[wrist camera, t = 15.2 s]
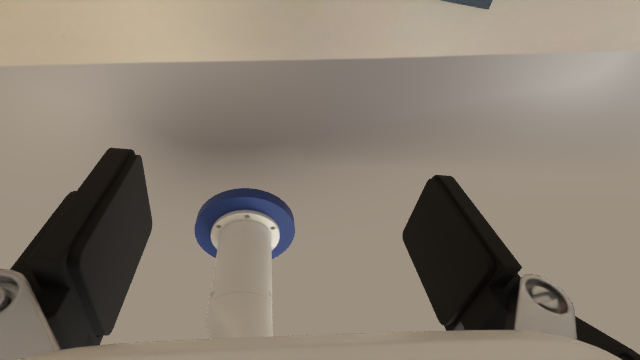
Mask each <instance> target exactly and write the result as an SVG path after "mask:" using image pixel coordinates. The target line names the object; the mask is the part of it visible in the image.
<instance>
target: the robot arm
mask: <svg viewBox="0 0 640 360" xmlns="http://www.w3.org/2000/svg"><path fill="white" fill-rule="evenodd" d="M151 229H152V217H151V211H150V205H149V199H148V193H147V187H146V181H145V175H144V169H143V163H142V158H141V156H140V155H135V153H134V151H133V150H131V149H119V148H109V149H108V150H107V151H106V153H105V154H104V155H103V157H102V158H101V159H100V161H99V162H98V163H97V165H96V166H95V167H94V169H93V170H92V172H91V173H90V174H89V175H88V177H87V178H86V180H85V181H84V182H83V184H82V185H81V186H80V188H79V189H78V190H77V191H73V192H71V193H69V194H68V195H67V196H66V197H65V199H64V200H63V201H62V203H61V204H60V205H59V207H58V208H57V209H56V210H55V212H54V213H53V214H52V216H51V217H50V218H49V220H48V221H47V222H46V224H45V225H44V226H43V227H42V229H41V230H40V231H39V233H38V234H37V235H36V236H35V238H34V239H33V240H32V242H31V243H30V244H29V246H28V247H27V248H26V250H25V251H24V252H23V253H22V255H21V256H20V257H19V259H18V260H17V261H16V262H15V264H14V265H13V266H12V268H11V269H10V270H7V269H6V270H5V269H0V360H640V355H639V354H637V353H636V352H635V351H633V350H632V349H630V348H628V347H627V346H625V345H623V344H621V343H620V342H618V341H616V340H615V339H613V338H611V337H610V336H608V335H606V334H605V333H603V332H601V331H599V330H598V329H596V328H594V327H593V326H591V325H589V324H587V323H586V322H584V321H582V320H581V319H579V318H577V317H576V316H575V311H574V307H573V303H572V302H571V301H570V299H569V297H568V296H567V295H566V294H565V293H564V292H563V290H562V289H560V288H559V287H558V286H557V285H555V284H554V283H552V282H551V281H549V280H548V279H546V278H543V277H541V276H538V275H533V274H527V275H524V276H523V277H520V276H519V275H518V272H519V271H520V269H521V268H522V267H521V265H520V264H519V263H518V261H517V260H516V259H515V258H514V256H513V255H512V254H511V252H510V251H509V250H508V248H507V247H506V246H505V244H504V243H503V242H502V241H501V239H500V238H499V237H498V235H497V234H496V233H495V231H494V230H493V229H492V228H491V226H490V225H489V224H488V222H487V221H486V220H485V218H484V217H483V216H482V214H481V213H480V212H479V210H478V209H477V208H476V207H475V205H474V204H473V203H472V201H471V200H470V199H469V197H468V196H467V195H466V193H465V192H464V191H463V189H462V188H461V187H460V186H459V184H458V183H457V182H456V180H455V179H454V178H453V177H451V176H443V175H435V176H434V177H432V179H429V180H428V181H427V183H426V185H425V187H424V189H423V191H422V194H421V195H420V197H419V200H418V202H417V204H416V206H415V208H414V210H413V212H412V214H411V216H410V218H409V221H408V223H407V224H406V227H405V229H404V231H403V241H404V243H405V246H406V248H407V250H408V253H409V255H410V257H411V259H412V262H413V264H414V266H415V268H416V271H417V273H418V275H419V277H420V279H421V282H422V284H423V286H424V288H425V291H426V293H427V295H428V297H429V300H430V302H431V304H432V307H433V309H434V311H435V314H436V316H437V318H438V320H439V322H440V323H441V324H442V325H444V326H445V328H446V331H424V332H390V333H389V332H388V333H360V334H330V335H329V334H328V335H300V336H273V323H272V250H273V249H274V248H275V247H276V246H277V244H278V242H279V239H280V231H279V227H278V225H277V223H276V222H275V221H274V220H273V219H272V218H271V217H270V216H268V215H266V214H264V213H261V212H258V211H254V210H237V211H232V212H229V213H227V214H225V215H223V216H221V217H220V218H219V219H217V220H216V222H215V223H214V224H213V227H212V229H211V241H212V244H213V245H214V247H215V248H216V249H217V254H216V261H215V267H214V274H213V280H212V286H211V292H210V298H209V305H208V310H207V318H206V323H207V329H208V333H209V335H210V337H211V339H195V340H174V341H156V342H138V343H120V344H108V345H100V342H101V340H102V338H103V335H109V334H110V333H111V332H112V330H113V328H114V325H115V322H116V320H117V317H118V315H119V312H120V309H121V307H122V305H123V302H124V300H125V297H126V294H127V292H128V289H129V287H130V284H131V282H132V279H133V277H134V274H135V271H136V269H137V266H138V264H139V261H140V259H141V256H142V253H143V251H144V249H145V246H146V243H147V241H148V238H149V236H150V233H151Z"/></svg>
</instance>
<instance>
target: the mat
mask: <svg viewBox="0 0 640 360" xmlns="http://www.w3.org/2000/svg"><path fill="white" fill-rule="evenodd" d="M442 1H447V2H452V3H457V4H462V5H468V6H473V7H478V8H483V9H489V7H490V5H491V3H492V0H442Z"/></svg>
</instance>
